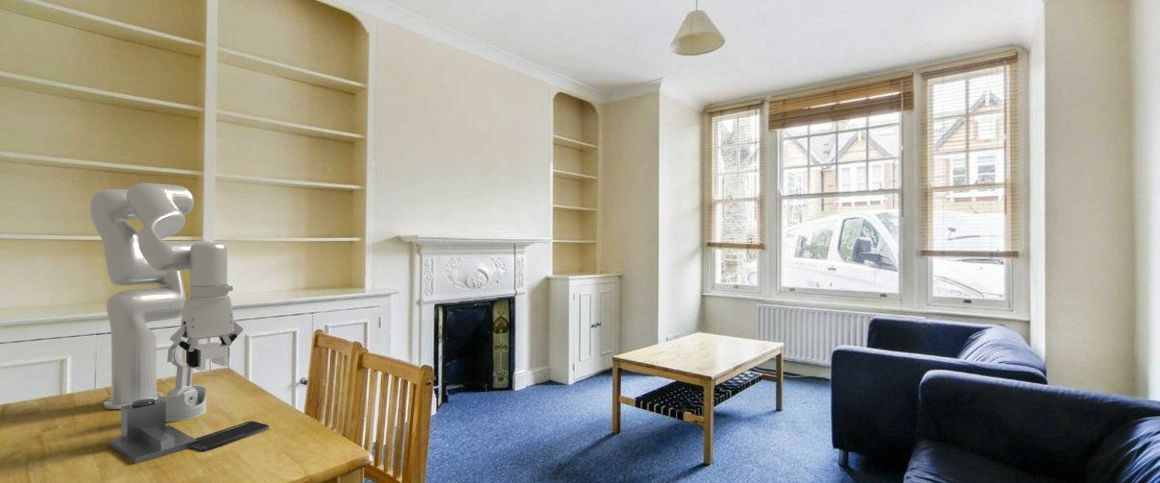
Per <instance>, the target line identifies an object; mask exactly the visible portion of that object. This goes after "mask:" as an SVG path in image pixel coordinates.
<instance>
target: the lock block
mask: <svg viewBox="0 0 1160 483" xmlns="http://www.w3.org/2000/svg"><path fill="white" fill-rule="evenodd" d="M195 351H197V367H195V368H193V370H194V369H195V370H197V371H200V372H201V371H206V362H207V361H206V360H210V363H212V364H216V365H218V366H220V367H228V366H229V357H228V355H229V356H230V346H227V345H224V344H221V342H216V341H215V342H207V343H202V344H200V345H196V347H195ZM191 368H192V367H191Z"/></svg>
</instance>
